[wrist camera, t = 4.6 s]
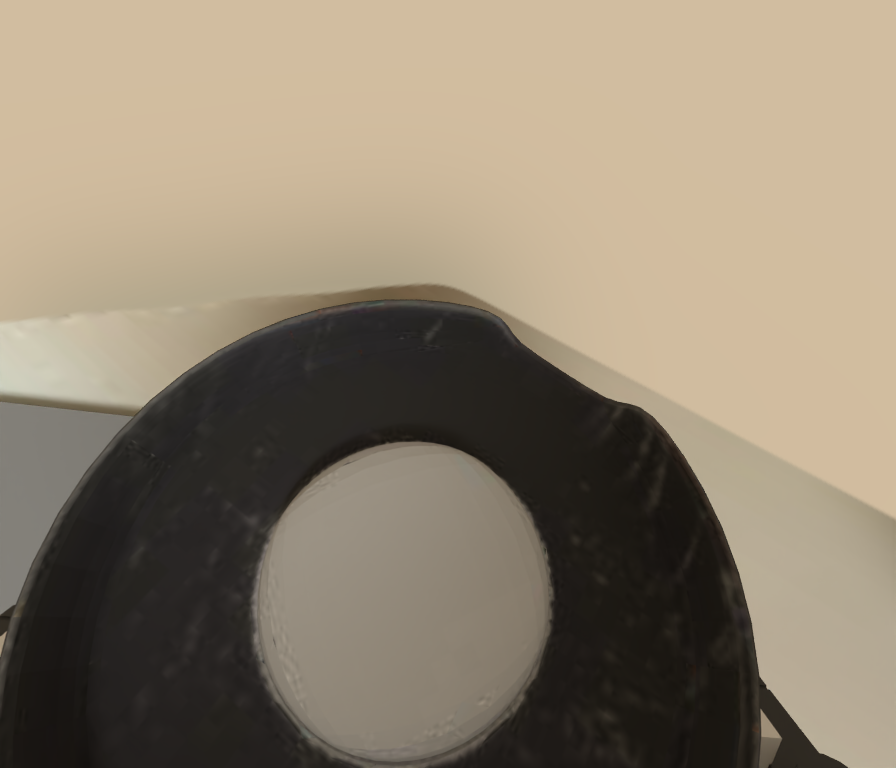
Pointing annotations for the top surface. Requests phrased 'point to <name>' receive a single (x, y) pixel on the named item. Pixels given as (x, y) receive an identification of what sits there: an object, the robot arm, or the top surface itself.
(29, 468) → the pad
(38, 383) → the top surface
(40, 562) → the travel mug
